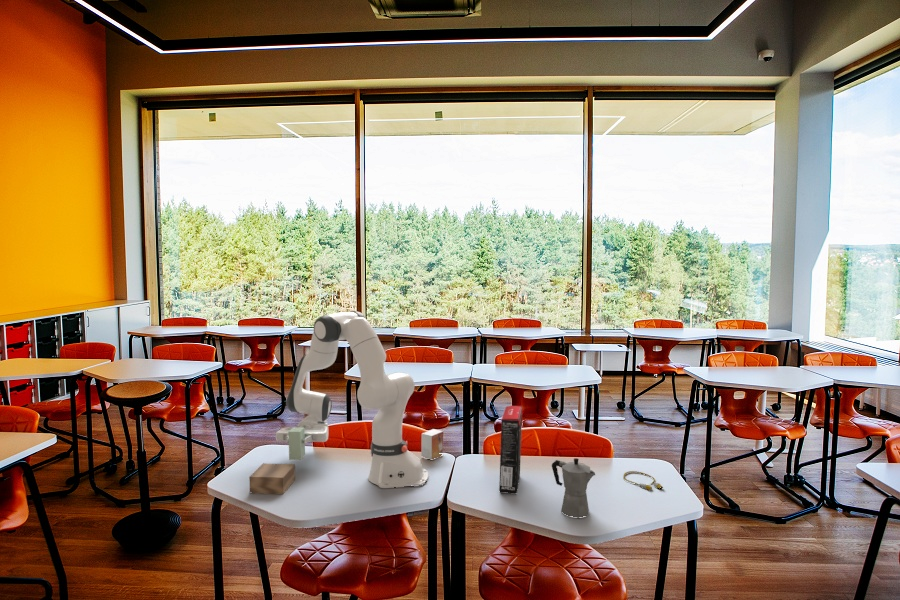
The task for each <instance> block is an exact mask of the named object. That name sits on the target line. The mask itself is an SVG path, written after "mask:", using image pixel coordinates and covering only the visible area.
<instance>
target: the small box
mask: <svg viewBox="0 0 900 600" xmlns="http://www.w3.org/2000/svg"><path fill="white" fill-rule="evenodd" d="M420 447H421V453H420V455H421V456H423V457H425V458H429V459H434V458H436V459H438V458H437V457H439V458H441V457H442V456H441V455H442V454H439V453H443V454H444V431H443V430H440V429H435V428H432V429H429V430H427V431H426V432H422V433H421V445H420ZM421 456H420V457H421ZM440 456H441V457H440ZM434 460H435V459H434Z"/></svg>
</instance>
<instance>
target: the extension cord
mask: <svg viewBox="0 0 900 600" xmlns="http://www.w3.org/2000/svg"><path fill="white" fill-rule="evenodd" d="M627 473H629V474H638V473H641V474H640V475H643V474H645V475H644V476H646V475H648V476H650V477H652V478H653V479H652V478H651V479H652V480H653V481H652V482H651V483H650V484H651V485H653V486H654V487H655V488H656V487H657V488H656V489H658V488H659V489H660V487H661V489H662V488H663V489H664V487H663V486H662V485H661V484H660V483H659V482H656V479H655V478H654V477H653V476H652V475H649V474H647V473H644V472H642V471H635V470H630V471H626V472H624V474H623V480H624V479H625V480H626V481H628V482H631V483H635V484H634V485H636V484H637V486H639V487H640V486H641V487H640V488H642V487H643V488H642V489H644V488H645V489H644V490H646V489H648V490H647V491H649V490H650V491H652V490H653V486H651V485H646V484H645V483H637V482H635V481H632V480H629V479H627V478H625V477H626V475H628V474H627ZM624 476H625V477H624ZM648 476H647V477H648ZM650 477H649V478H650ZM625 480H624V481H625ZM653 482H654V483H653ZM652 483H653V484H652ZM651 489H652V490H651ZM659 489H658V490H659ZM661 489H660V490H661Z"/></svg>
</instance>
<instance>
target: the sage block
mask: <svg viewBox="0 0 900 600" xmlns="http://www.w3.org/2000/svg"><path fill="white" fill-rule="evenodd" d="M292 427H293V426H292ZM296 427H297V426H295V427H293V428H292V429H291V430H290V431H289V432H288V435H289V443H288V458H289V460H290V461H301V460H302V459H303V458H304V457H305V456H306V444H302V439H303V438H305V433H304V428H296Z"/></svg>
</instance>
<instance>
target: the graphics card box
mask: <svg viewBox="0 0 900 600" xmlns="http://www.w3.org/2000/svg"><path fill="white" fill-rule="evenodd" d="M522 419H523V406H520V405H508V406H505V409H504V411H503V415H502V418H501V423H500V424H501V427H500V428H501V430H500V452H499V453H500V455H499V486H498V487H499V488H498V490H499V491H500V492H499V493H501V492H508V493H507V494H511V493H518V490H519V484H520V477H521V459H522V457H521V456H522V453H521V452H522V448H521V447H522V424H523V423H522V422H523V421H522ZM518 483H519V484H518ZM517 489H518V490H517Z"/></svg>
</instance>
